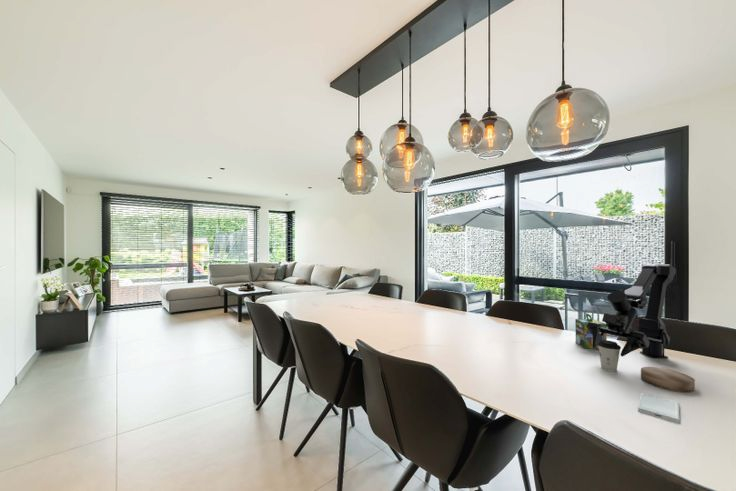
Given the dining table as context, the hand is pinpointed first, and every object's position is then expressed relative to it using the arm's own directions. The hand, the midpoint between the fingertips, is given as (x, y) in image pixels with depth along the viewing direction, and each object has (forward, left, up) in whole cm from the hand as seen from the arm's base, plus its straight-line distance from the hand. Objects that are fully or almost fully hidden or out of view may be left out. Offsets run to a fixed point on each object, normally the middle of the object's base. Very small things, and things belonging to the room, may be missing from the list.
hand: (606, 351), depth 115 cm
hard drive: (+7, +27, -7) cm, 29 cm away
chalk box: (-13, -27, -7) cm, 31 cm away
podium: (-11, +11, -7) cm, 17 cm away
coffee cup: (-1, -1, -7) cm, 7 cm away
